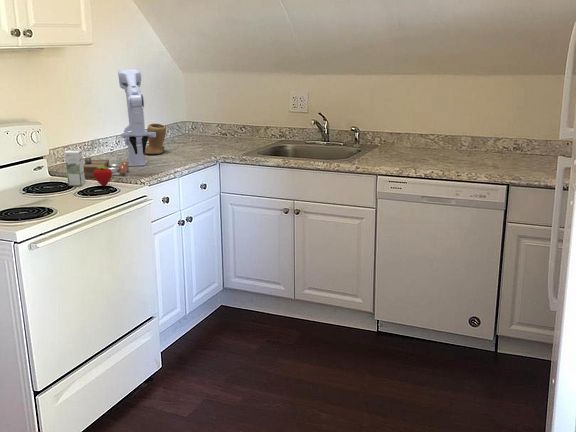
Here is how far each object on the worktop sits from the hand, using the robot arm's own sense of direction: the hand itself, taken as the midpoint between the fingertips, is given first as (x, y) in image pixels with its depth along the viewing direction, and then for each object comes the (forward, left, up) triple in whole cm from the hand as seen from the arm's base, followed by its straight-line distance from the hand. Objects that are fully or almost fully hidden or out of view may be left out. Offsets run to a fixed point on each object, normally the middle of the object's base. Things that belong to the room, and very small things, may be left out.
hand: (140, 153), depth 281 cm
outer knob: (0, -13, -9) cm, 16 cm away
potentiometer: (-3, -24, -4) cm, 24 cm away
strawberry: (+19, -13, -10) cm, 25 cm away
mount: (-3, -21, -9) cm, 23 cm away
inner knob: (-7, -13, -9) cm, 17 cm away
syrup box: (+14, -25, -10) cm, 30 cm away
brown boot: (-49, +1, -10) cm, 50 cm away
